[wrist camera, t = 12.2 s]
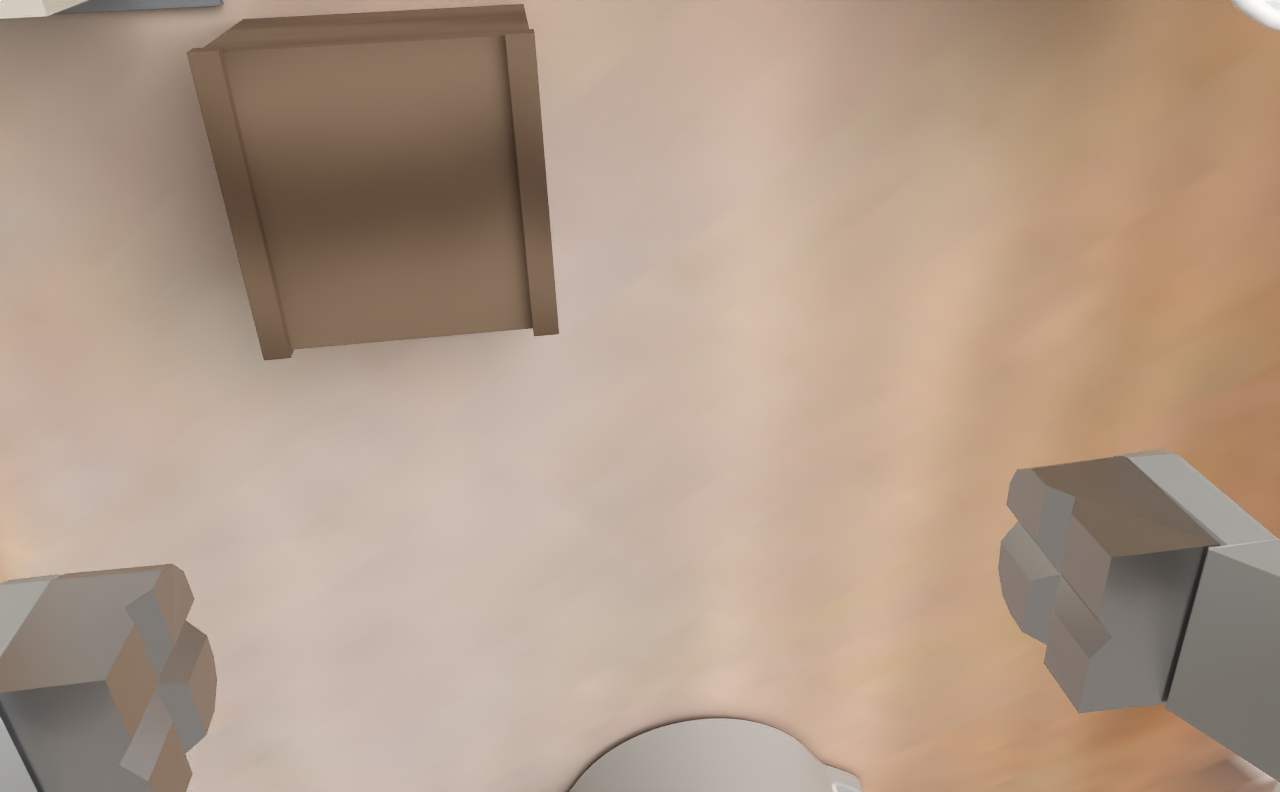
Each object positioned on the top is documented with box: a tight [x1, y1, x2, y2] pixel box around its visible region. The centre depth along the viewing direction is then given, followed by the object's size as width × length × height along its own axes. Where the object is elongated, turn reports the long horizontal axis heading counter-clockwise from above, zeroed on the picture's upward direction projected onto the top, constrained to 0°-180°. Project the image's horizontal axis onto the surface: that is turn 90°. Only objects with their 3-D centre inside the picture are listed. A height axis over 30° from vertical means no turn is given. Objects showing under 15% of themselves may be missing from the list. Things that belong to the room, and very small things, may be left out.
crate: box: [187, 4, 559, 360], centre depth 31 cm, size 9×9×6 cm
